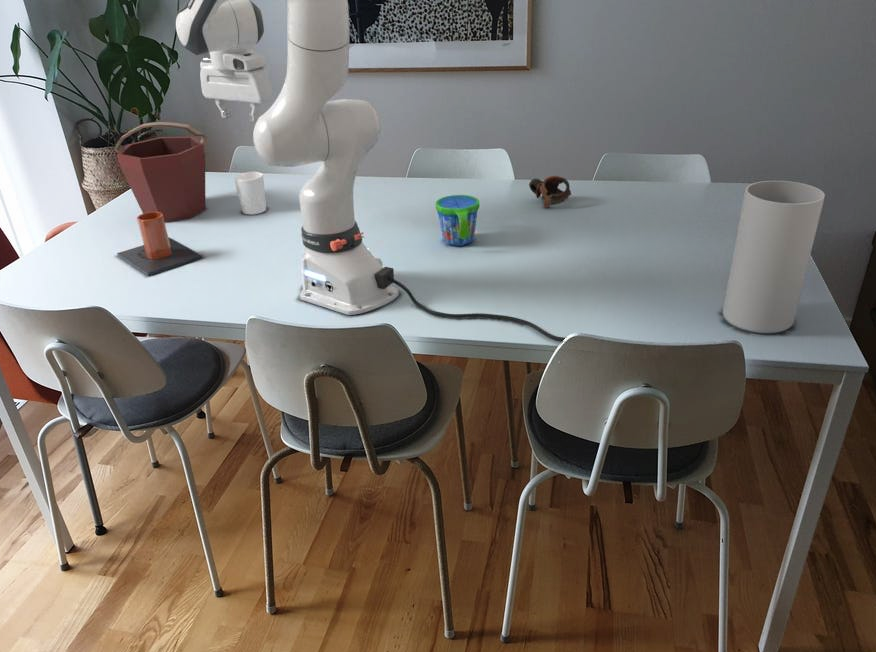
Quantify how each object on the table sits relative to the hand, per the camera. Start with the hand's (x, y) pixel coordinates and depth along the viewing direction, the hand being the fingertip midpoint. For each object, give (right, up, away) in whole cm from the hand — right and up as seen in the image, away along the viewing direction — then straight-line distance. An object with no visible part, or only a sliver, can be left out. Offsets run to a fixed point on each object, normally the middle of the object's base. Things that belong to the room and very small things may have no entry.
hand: (240, 119), depth 178 cm
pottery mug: (+79, -15, +23) cm, 84 cm away
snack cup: (+53, -29, +3) cm, 61 cm away
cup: (-21, -32, +3) cm, 39 cm away
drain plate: (-21, -33, +4) cm, 39 cm away
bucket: (-26, -16, +32) cm, 45 cm away
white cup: (-3, -16, +30) cm, 34 cm away
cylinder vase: (+108, -51, -38) cm, 125 cm away
